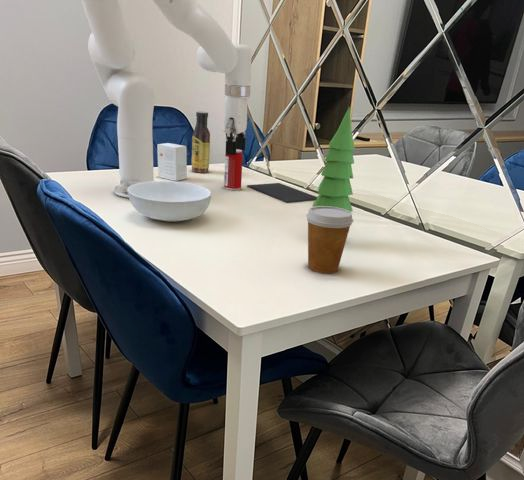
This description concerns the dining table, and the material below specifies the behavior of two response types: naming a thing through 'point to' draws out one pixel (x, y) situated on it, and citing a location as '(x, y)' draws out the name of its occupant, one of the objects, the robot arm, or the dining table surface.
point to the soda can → (233, 171)
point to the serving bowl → (169, 200)
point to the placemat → (283, 192)
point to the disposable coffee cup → (327, 237)
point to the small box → (172, 161)
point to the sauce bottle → (201, 144)
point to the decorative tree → (338, 169)
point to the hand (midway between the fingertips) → (235, 152)
